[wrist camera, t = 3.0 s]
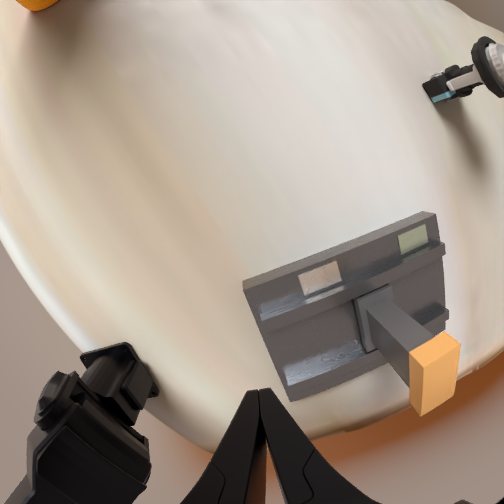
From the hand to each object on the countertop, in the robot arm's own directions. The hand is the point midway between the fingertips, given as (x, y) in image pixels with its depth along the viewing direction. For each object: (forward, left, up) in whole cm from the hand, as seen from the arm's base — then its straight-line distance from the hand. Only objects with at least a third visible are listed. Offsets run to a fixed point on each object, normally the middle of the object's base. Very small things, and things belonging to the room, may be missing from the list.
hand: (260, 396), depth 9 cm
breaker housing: (+8, -6, -13) cm, 16 cm away
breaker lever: (+9, -6, -11) cm, 15 cm away
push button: (+25, +11, -13) cm, 30 cm away
